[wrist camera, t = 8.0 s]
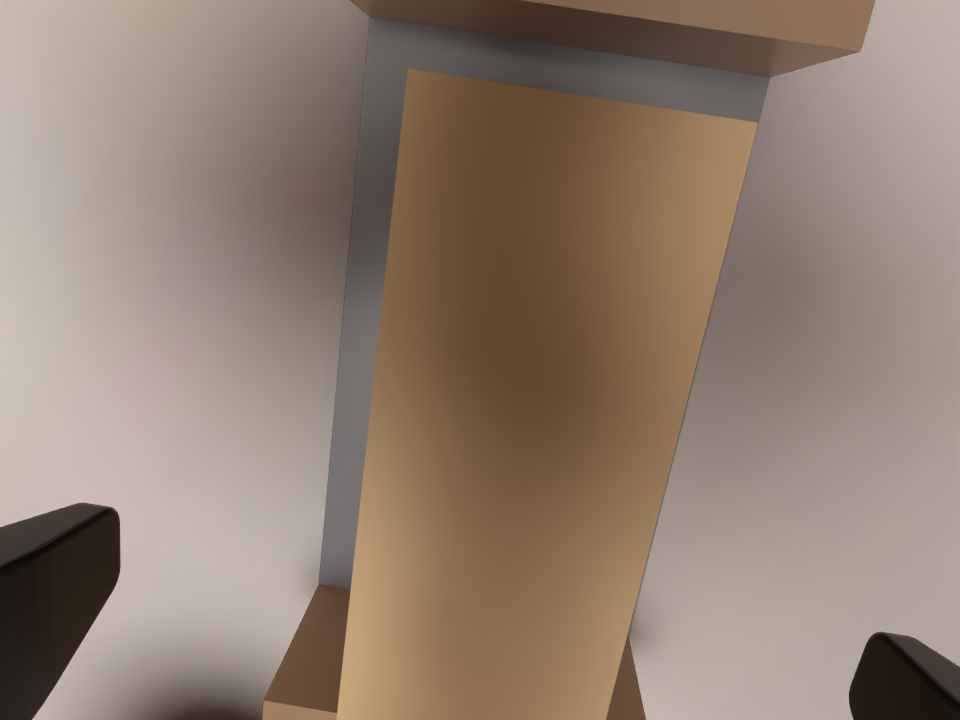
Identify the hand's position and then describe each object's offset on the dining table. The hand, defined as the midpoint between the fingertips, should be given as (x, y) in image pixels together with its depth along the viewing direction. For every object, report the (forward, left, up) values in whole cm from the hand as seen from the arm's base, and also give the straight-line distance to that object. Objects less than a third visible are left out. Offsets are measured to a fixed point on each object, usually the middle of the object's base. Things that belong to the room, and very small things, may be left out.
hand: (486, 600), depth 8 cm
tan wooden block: (0, 0, -8) cm, 8 cm away
